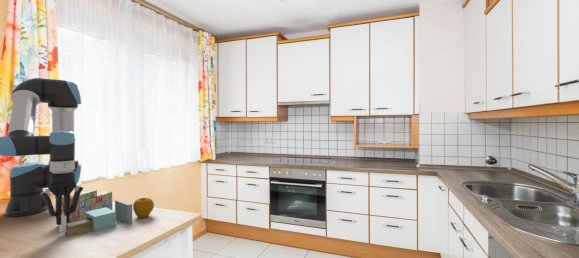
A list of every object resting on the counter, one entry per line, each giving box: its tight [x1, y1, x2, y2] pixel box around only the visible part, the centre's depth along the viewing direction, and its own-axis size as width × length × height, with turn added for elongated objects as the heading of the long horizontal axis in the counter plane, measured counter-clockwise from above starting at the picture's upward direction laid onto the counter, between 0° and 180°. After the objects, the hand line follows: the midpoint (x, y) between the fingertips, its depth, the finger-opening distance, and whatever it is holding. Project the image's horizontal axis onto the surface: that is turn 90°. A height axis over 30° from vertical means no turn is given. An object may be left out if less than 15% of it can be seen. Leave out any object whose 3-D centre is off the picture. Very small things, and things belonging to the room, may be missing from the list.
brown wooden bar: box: [64, 218, 93, 238], centre depth 112 cm, size 4×10×4 cm, turn 148°
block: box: [85, 207, 117, 233], centre depth 118 cm, size 10×8×6 cm
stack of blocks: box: [62, 189, 113, 224], centre depth 129 cm, size 21×6×12 cm, turn 170°
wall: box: [114, 199, 133, 224], centre depth 125 cm, size 12×2×8 cm, turn 55°
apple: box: [132, 197, 155, 219], centre depth 130 cm, size 8×8×9 cm
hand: (62, 232), depth 108 cm, fingers closed
